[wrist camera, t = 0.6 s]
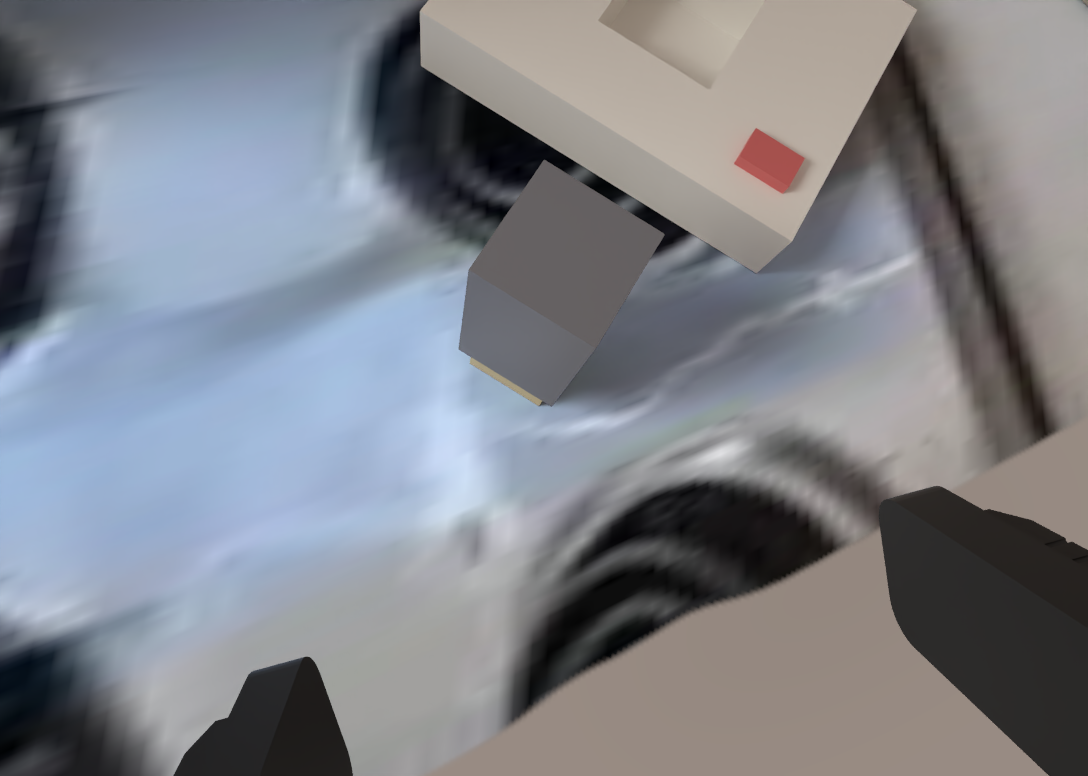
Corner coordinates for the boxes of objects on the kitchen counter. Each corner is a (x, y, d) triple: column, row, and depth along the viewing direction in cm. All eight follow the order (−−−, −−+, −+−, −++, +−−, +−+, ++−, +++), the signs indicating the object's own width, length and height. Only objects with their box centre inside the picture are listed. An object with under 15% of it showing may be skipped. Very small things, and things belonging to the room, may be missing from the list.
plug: (456, 366, 31) (468, 270, 21) (508, 287, 32) (544, 159, 22) (542, 418, 31) (595, 348, 21) (591, 338, 32) (664, 234, 22)
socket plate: (420, 65, 34) (419, 0, 30) (572, -128, 38) (589, -209, 34) (756, 273, 34) (798, 235, 30) (874, 59, 38) (925, 0, 34)
